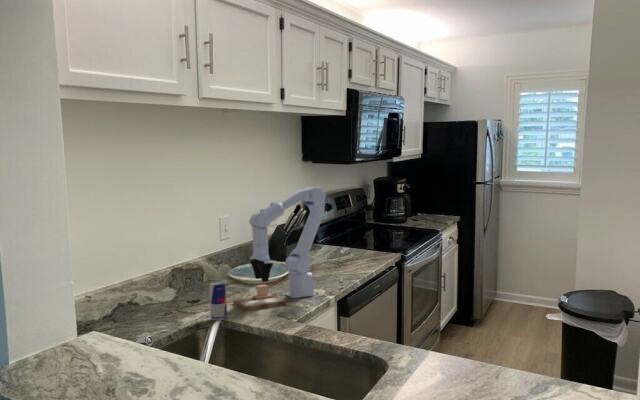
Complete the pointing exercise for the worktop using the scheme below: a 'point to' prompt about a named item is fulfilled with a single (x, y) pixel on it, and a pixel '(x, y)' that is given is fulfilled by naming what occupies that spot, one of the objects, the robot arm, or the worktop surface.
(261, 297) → the peach plate with block
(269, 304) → the board
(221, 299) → the energy drink
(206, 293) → the worktop surface
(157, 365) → the worktop surface
